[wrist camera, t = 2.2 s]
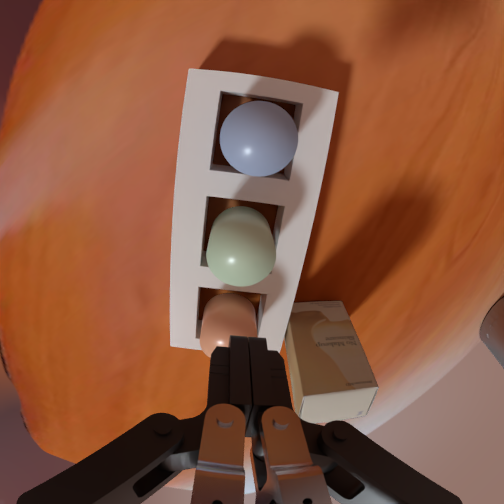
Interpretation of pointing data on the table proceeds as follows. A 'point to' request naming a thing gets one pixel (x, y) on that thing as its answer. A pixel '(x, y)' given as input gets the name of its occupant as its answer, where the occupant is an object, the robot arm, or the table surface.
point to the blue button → (259, 138)
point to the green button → (241, 247)
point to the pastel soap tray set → (244, 198)
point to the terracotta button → (226, 321)
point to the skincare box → (327, 364)
